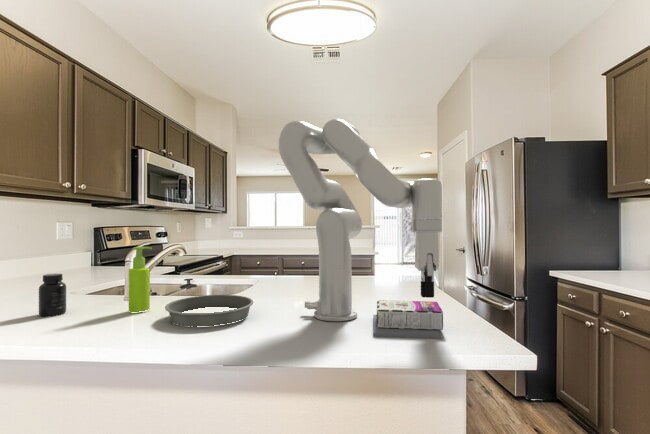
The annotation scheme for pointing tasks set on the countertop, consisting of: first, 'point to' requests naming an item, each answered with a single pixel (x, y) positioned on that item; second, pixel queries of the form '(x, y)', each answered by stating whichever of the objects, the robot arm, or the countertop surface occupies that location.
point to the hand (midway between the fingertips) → (427, 296)
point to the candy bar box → (409, 315)
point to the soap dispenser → (139, 283)
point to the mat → (404, 332)
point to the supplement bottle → (52, 296)
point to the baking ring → (209, 318)
